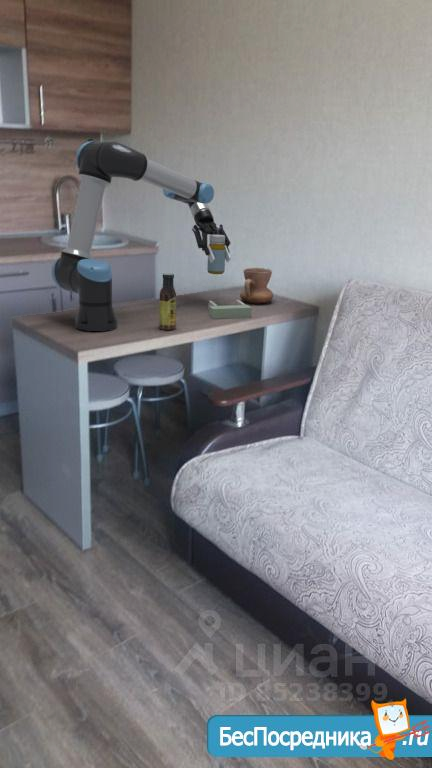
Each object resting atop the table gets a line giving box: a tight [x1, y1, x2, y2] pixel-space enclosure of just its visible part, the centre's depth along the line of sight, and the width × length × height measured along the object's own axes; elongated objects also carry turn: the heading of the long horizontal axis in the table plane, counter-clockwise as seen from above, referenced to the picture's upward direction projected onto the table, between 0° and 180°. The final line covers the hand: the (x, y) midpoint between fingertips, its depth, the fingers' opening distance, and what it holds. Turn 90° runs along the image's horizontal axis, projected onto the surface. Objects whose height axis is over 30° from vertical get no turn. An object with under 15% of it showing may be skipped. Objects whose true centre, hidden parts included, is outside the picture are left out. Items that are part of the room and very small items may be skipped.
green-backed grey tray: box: [207, 299, 252, 320], centre depth 242 cm, size 16×13×4 cm
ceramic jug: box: [239, 267, 274, 305], centre depth 263 cm, size 18×14×14 cm
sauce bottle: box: [158, 272, 178, 331], centre depth 217 cm, size 7×6×20 cm
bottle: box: [206, 234, 226, 275], centre depth 244 cm, size 7×7×15 cm
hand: (221, 260), depth 242 cm, fingers closed on bottle, 7 cm apart
